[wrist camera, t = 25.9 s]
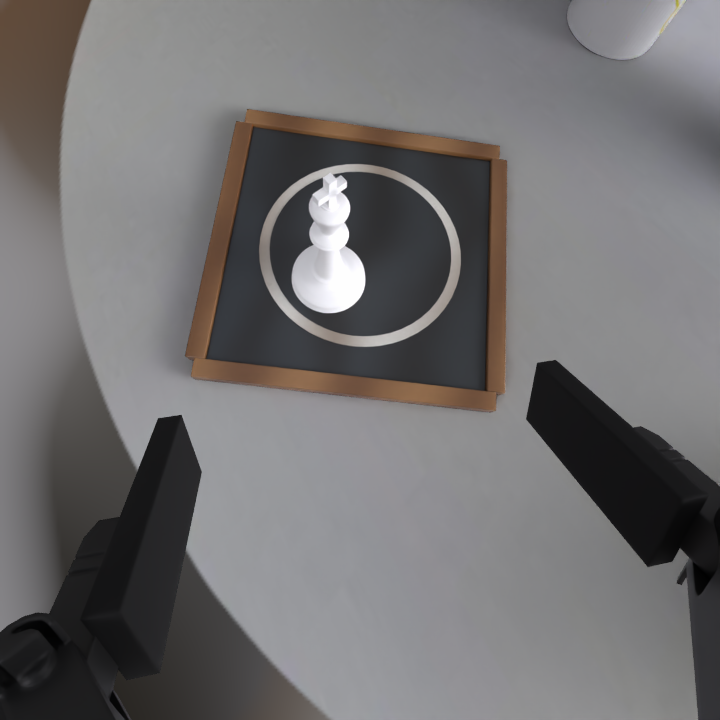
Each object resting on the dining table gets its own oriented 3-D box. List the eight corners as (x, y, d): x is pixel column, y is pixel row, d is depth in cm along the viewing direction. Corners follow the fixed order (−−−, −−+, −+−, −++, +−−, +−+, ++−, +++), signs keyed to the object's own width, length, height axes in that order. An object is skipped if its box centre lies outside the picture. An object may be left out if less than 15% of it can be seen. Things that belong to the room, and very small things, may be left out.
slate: (185, 378, 26) (180, 375, 25) (241, 117, 31) (238, 107, 31) (499, 413, 27) (505, 411, 26) (502, 155, 32) (507, 146, 32)
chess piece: (276, 273, 28) (249, 169, 18) (333, 233, 29) (336, 114, 19) (323, 328, 27) (322, 249, 17) (380, 284, 28) (408, 187, 18)
